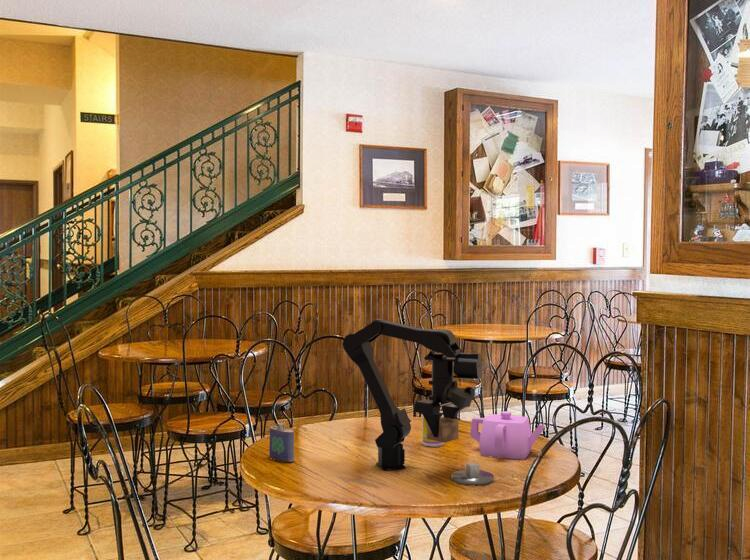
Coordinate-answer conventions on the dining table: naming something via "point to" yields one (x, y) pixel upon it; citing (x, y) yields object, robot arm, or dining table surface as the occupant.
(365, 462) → the dining table surface
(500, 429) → the teakettle
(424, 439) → the supplement bottle
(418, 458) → the dining table surface
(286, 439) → the flask
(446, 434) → the drawer-style box
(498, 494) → the dining table surface
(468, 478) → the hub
